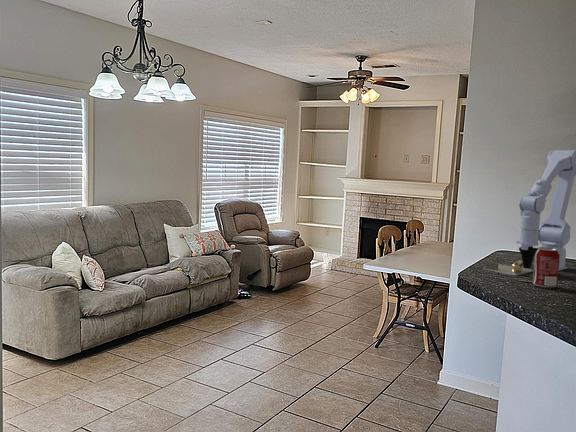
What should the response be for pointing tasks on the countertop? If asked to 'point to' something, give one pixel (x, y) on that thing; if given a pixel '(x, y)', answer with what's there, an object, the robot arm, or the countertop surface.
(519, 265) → the swing bar
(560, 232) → the robot arm
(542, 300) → the countertop surface
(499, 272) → the plate
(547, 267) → the soda can
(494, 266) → the keeper
